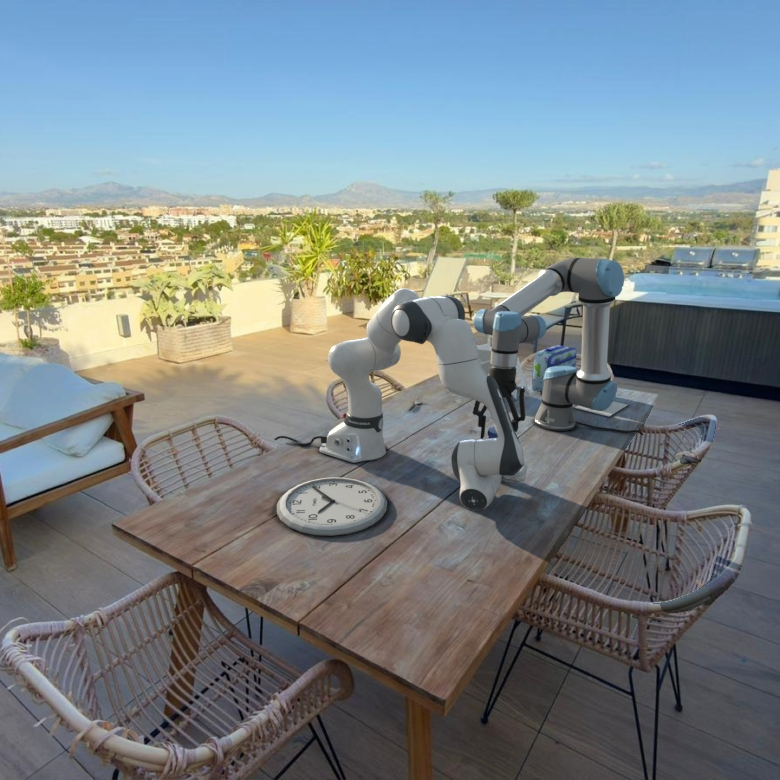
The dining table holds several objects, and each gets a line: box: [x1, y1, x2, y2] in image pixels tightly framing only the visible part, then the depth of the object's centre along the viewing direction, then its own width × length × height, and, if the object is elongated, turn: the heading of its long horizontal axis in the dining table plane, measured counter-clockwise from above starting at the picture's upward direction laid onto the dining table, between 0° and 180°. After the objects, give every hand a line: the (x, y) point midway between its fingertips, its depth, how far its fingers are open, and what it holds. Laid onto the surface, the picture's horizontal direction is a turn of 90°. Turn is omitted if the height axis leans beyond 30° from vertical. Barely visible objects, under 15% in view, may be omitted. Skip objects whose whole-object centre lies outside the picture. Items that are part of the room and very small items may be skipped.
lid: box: [487, 426, 498, 438], centre depth 157 cm, size 6×6×2 cm
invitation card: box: [573, 400, 629, 418], centre depth 226 cm, size 21×1×15 cm
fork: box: [408, 396, 423, 412], centre depth 222 cm, size 3×16×2 cm, turn 160°
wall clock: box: [276, 476, 388, 537], centre depth 142 cm, size 30×2×30 cm
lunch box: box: [531, 345, 577, 393], centre depth 245 cm, size 26×11×21 cm, turn 134°
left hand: (496, 456), depth 160 cm, fingers closed on jar, 5 cm apart
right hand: (496, 439), depth 157 cm, fingers open, 8 cm apart
